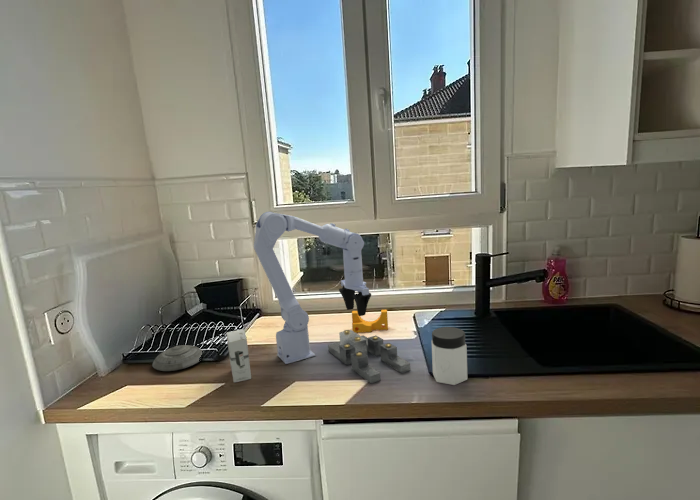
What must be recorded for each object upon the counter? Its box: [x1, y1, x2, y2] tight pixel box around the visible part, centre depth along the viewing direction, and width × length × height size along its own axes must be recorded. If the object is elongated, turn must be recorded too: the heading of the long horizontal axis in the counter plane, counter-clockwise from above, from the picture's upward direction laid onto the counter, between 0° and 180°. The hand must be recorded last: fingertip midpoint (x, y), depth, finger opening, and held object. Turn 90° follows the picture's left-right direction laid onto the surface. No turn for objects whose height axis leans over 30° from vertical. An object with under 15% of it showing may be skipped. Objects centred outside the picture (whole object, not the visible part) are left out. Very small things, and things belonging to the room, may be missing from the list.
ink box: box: [226, 328, 252, 383], centre depth 116 cm, size 9×5×12 cm, turn 21°
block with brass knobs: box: [338, 329, 368, 356], centre depth 127 cm, size 4×10×6 cm, turn 27°
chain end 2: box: [351, 342, 411, 384], centre depth 113 cm, size 12×10×5 cm
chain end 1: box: [327, 335, 384, 366], centre depth 125 cm, size 12×12×5 cm
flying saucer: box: [151, 344, 203, 372], centre depth 127 cm, size 15×15×6 cm
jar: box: [430, 326, 468, 386], centre depth 106 cm, size 9×8×12 cm
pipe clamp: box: [351, 309, 389, 334], centre depth 143 cm, size 12×4×6 cm, turn 85°
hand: (355, 312), depth 132 cm, fingers open, 7 cm apart
